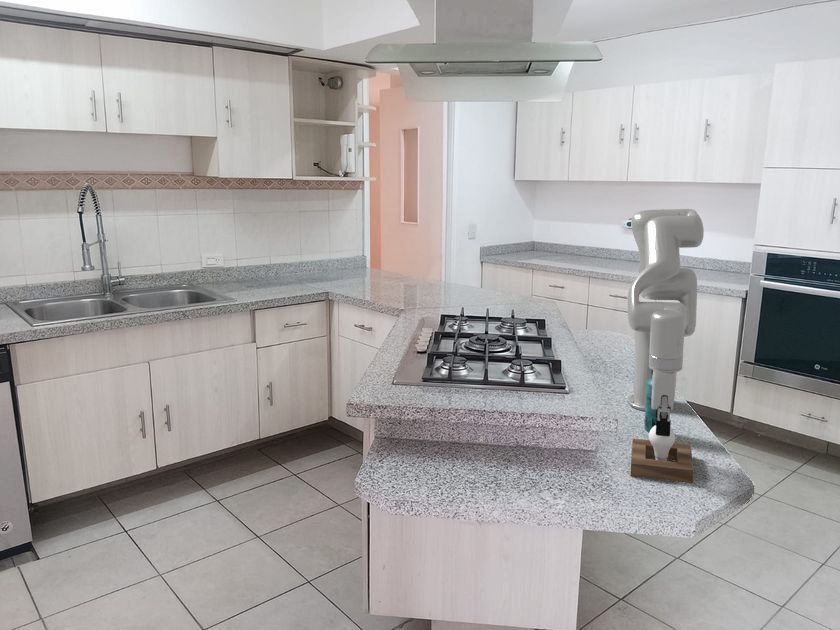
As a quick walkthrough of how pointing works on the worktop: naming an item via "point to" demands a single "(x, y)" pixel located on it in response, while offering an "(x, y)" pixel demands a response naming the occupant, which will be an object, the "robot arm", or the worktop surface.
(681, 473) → the socket block
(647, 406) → the beverage bottle
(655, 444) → the lightbulb
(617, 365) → the worktop surface
